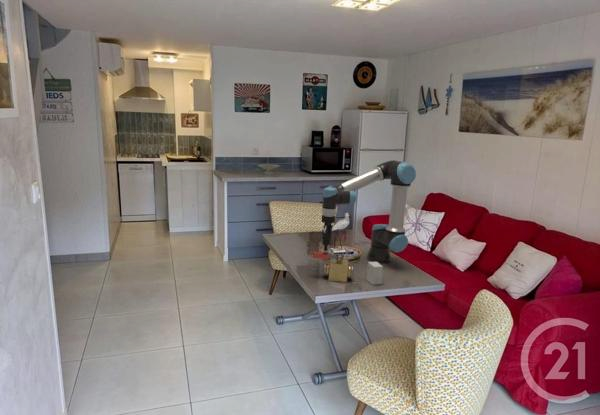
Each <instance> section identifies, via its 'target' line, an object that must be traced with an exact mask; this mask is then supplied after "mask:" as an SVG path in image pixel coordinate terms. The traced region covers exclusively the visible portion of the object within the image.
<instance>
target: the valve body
mask: <svg viewBox="0 0 600 415" xmlns="http://www.w3.org/2000/svg"><path fill="white" fill-rule="evenodd" d="M326 263H327V266H326V276H325V277H328V281H329V282H330V281H331V282H339V281H341V282H340V283H347V282H348V279H350V276H351V265H352V264H351V265H349V259H347V258H346V259H345V258H343V260H336V259H330V261H329V262H326Z"/></svg>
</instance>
